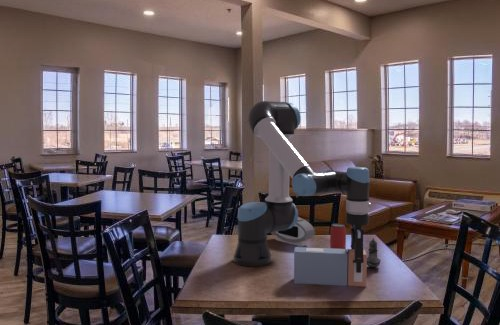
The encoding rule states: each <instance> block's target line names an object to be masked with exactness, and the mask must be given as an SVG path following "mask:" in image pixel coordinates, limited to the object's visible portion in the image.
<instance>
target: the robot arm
mask: <svg viewBox="0 0 500 325" xmlns="http://www.w3.org/2000/svg"><path fill="white" fill-rule="evenodd" d="M301 120H302V119H301V113H300V110H299V109H298V107H297V106H296V105H295V104H294V103H292V102H287V101H269V100H263V101H259V102H257V103H255V104H253V105H252V107H251V108H250V110H249V111H248V115H247V122H248V126H249V129H250V130H251V131H252V133H253V135H254V136H255V137H256V138H260V139H261V140H262V141H263V143H264V144H265V146H267V148H268V149H269V163H268V165H269V166H268V168H269V169H268V170H269V171H268V195H267V196H266V197H265V199H264V202H262V201H255V202H252V201H251V202H246V203H243V204H242V205H240V206H239V208H238V211H237V245H236V248H235V251H234V254H233V262H234V263H235V264H236V265H239V266H242V267H251V268H252V267H253V268H255V267H262V266H267V265H269V264H271V262H272V254H271V252H270V248H269V245H268V240H267V239H268V237H267V236H268V235H267V234H271V233H272V232H277V231H284V230H287V229H290V228H292V227H293V226H294V225H295V224H296V222H297V219H298V217H299V210H298V208H297V206H296V205H295V203H293V198H292V197H291V196H290V178H291V187H292V191H293V193H295V195H297V196H300V197H311V196H315V195H323V194H330V193H339V194H345V196H346V199H345V211H346V216H345V217H346V218H345V223H346V224H348V226H351V228H350V237H351V241H350V249H354V252H355V260H353V263H354V282H362V277H363V262H364V260H363V250H364V234H365V231H364V230H365V229H363V228H362V227H363V226H367V225H369V223H370V214H369V212H370V207H369V206H371V205H372V204H371V202H370V182H371V179H370V170H369V168H368V167H365V166H364V167H363V166H349V167H347V169H346V171H338V170H334V169H333V170H332V169H331V170H330V169H329V170H327V169H326V170H323V171H318V172H315V171H314V169H313V168H312V167H311V166H310V165H309V163H307V161H306V160H305V159H304V157H303V156H302V155H301V154H300V153H299V151H298V150H297V149H296V148H295V147H294V145H293V144H292V143H291V139H292V137H294V136H295V130H297V129H298V128H299V125H300V124H301ZM357 258H361V259H357Z"/></svg>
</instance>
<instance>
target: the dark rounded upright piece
mask: <svg viewBox="0 0 500 325" xmlns="http://www.w3.org/2000/svg"><path fill="white" fill-rule="evenodd" d="M368 247H369V248H368V256H367V270H369V271H378V270H380V268H379V266H380V264H381V261H382V260H381V258H378V251H379V249H378V242H377V240H375V238H372V240H370V241H369V246H368Z"/></svg>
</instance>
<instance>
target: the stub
mask: <svg viewBox="0 0 500 325" xmlns="http://www.w3.org/2000/svg"><path fill="white" fill-rule="evenodd" d="M346 250H347V253H348V264H347V286H348V287H361V288H362V287H367V270H368V269H367V267H368V265H367V258H368V254H367V252H366V249H363V260H364V262H363V277H362V282H354V263H353V260H355V252H354V249H351V248H350V249H349V248H346ZM357 259H361V258H357Z"/></svg>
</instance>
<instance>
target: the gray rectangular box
mask: <svg viewBox="0 0 500 325" xmlns="http://www.w3.org/2000/svg"><path fill="white" fill-rule="evenodd" d="M293 250H294V251H293V252H294V253H293V284H295V285H298V284H305V285H322V286H323V285H324V286H342V287H343V286H344V287H347V286H348V283H347V264H348V253H347V248H346V249H333V248H330V247H327V248H326V247H307V246H303V247H300V246H294V249H293Z"/></svg>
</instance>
